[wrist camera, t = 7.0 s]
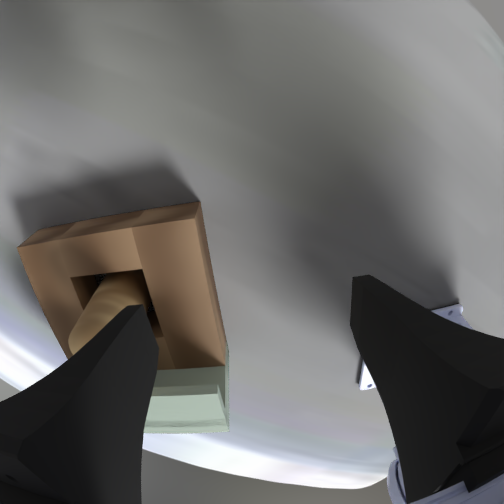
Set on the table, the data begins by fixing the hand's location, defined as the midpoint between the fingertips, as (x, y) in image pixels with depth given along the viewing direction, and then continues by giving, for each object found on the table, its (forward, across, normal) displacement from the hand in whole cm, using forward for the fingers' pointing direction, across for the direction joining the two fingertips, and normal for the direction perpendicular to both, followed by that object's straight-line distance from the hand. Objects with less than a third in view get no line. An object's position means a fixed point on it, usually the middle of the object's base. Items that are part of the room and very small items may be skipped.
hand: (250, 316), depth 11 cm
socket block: (+10, +8, +4) cm, 13 cm away
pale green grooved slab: (+10, +8, +9) cm, 16 cm away
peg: (+10, +8, +4) cm, 13 cm away
